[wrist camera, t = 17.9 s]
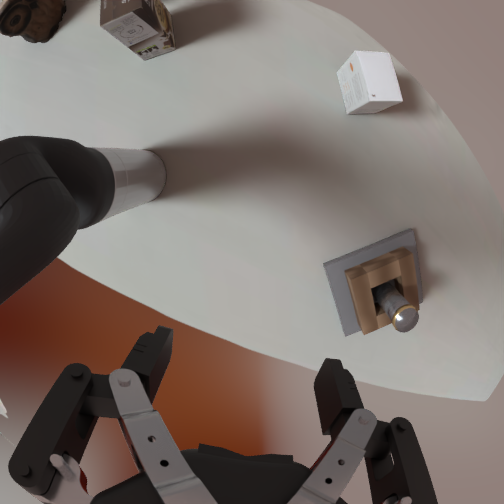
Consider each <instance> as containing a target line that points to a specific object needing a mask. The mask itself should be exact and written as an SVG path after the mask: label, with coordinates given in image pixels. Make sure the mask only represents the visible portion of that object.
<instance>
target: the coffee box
mask: <svg viewBox="0 0 504 504" xmlns="http://www.w3.org/2000/svg"><path fill="white" fill-rule="evenodd" d="M100 27H102V28H103V29H105V30H106V31H107V32H109V33H110V34H111V35H112V36H114V37H115V38H116V39H118V40H119V41H120V42H122V43H123V44H124V45H125V46H127V47H128V48H129V49H131V50H132V51H133V52H134V53H136V54H137V55H138V56H139V57H140V58H142V59H143V60H147V59H150V58H153V57H155V56H158V55H161V54H164V53H167V52H170V51H173V50H175V49H176V47H175V40H174V33H173V26H172V18H171V14H170V13H169V11H168V10H167V8H166V7H165V5H164V4H163V3H162V1H161V0H101V10H100Z"/></svg>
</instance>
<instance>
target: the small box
mask: <svg viewBox="0 0 504 504" xmlns="http://www.w3.org/2000/svg"><path fill="white" fill-rule="evenodd" d="M337 76H338V80H339V83H340V87H341V91H342V95H343V99H344V104H345V108H346V113H347V114H365V113H377V112H379V111H382V110H384V109H386V108H389V107H391V106H393V105H396V104H398V103H401V102H403V99H402V94H401V91H400V87H399V83H398V80H397V76H396V73H395V69H394V66H393V63H392V60H391V57H390V53H387V52H375V51H358V50H355V51H354V52H353V54H352V55H351V56H350V57H349V58H348V59H347V61H346V62H345V63H344V64H343V65H342V67H341V68H340V69H339V70H338V71H337Z"/></svg>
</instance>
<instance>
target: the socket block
mask: <svg viewBox="0 0 504 504" xmlns="http://www.w3.org/2000/svg"><path fill="white" fill-rule="evenodd" d="M344 272H345V276H346V279H347V283H348V287H349V291H350V294H351V298H352V302H353V306H354V310H355V314H356V318H357V322H358V325H359V327H360V329H361V330H362V332H363V334H364V335H365V334H368V333H370V332H372V331H375V330H377V329H379V328H382V327H384V326H386V325H388V324H391V323H392V321H391V320H390V318H389V317H388V315H387V314H386V313H385V311H384V310H383V309H382V307H381V306H380V305H379V303H378V302H376V303H374V301H373V296H372V292H371V288H373V287H376V286H378V285H380V284H383V283H385V282H387V281H389V280H392V279H394V283H395V288H396V289H397V290H398V291H399V293H400V294H401V295H402V296H403V297H404V298H405V299H406V300H407V301H408V302H409V303H410V304H411V305H413V306H414V307H415V308H416V309H417V311H418V310H419V298H418V288H417V279H416V271H415V264H414V257H413V253H412V252H410V251H409V250H407V249H406V248H404V247H403V246H402V247H400V248H397V249H395V250H393V251H390V252H388V253H386V254H383V255H381V256H378V257H376V258H374V259H371V260H369V261H366V262H364V263H361V264H359V265H356V266H354V267H352V268H349V269H346V270H344Z"/></svg>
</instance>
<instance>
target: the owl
mask: <svg viewBox="0 0 504 504" xmlns="http://www.w3.org/2000/svg"><path fill="white" fill-rule="evenodd" d="M65 12H66V6H65V1H64V0H2V2H1V3H0V33H1V34H3V35H6V36H9V37H13V36H19V35H20V36H22V37H23V38H24V39H25V40H26V41H28V42H31V43H37V42H41V43H46V42H48V41H49V39H50V38H51V37H52V36H53V34H54V33H55V32H56V31H57V29H58V27H59V22H60V21H62V17H63V14H64V13H65Z"/></svg>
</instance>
